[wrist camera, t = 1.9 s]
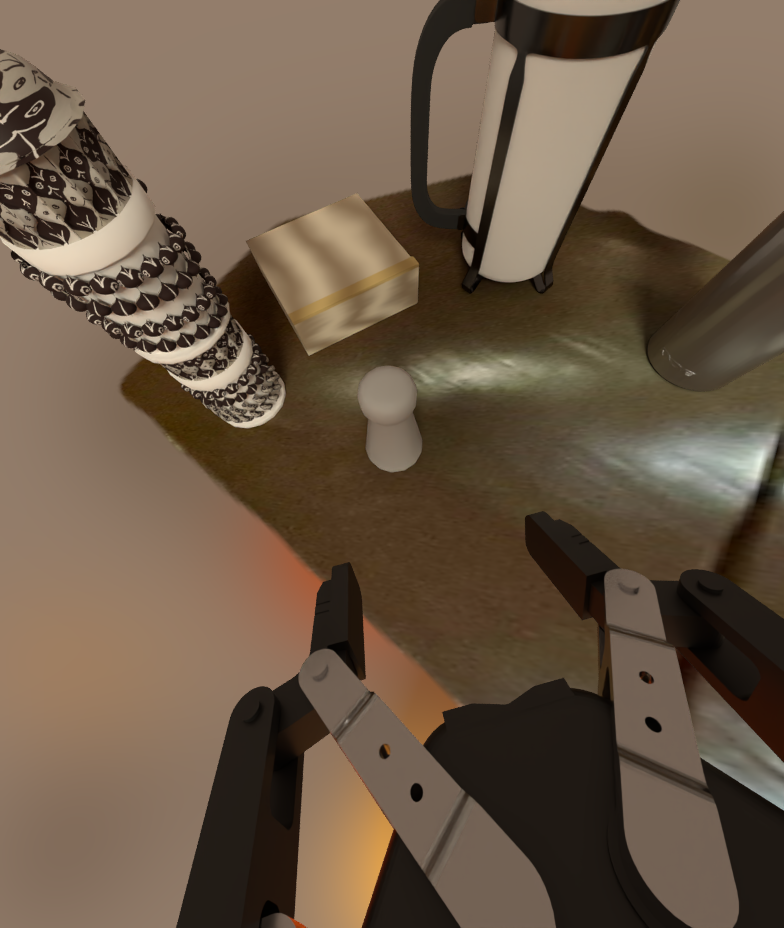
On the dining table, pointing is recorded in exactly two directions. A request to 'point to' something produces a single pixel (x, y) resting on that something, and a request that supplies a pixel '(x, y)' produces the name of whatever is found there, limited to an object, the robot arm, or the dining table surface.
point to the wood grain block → (336, 272)
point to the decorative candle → (118, 249)
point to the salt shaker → (390, 418)
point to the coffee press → (533, 121)
